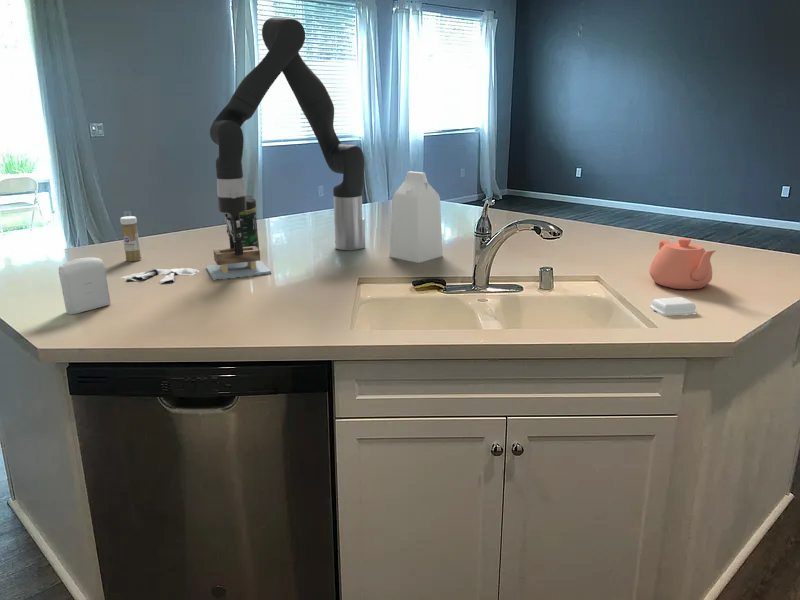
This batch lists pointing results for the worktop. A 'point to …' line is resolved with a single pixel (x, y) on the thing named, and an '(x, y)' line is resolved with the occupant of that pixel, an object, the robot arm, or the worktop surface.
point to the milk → (416, 220)
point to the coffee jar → (249, 223)
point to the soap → (673, 306)
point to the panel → (237, 270)
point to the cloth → (167, 279)
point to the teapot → (681, 265)
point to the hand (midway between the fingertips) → (236, 252)
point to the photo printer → (84, 284)
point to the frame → (229, 256)
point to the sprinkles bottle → (130, 238)
